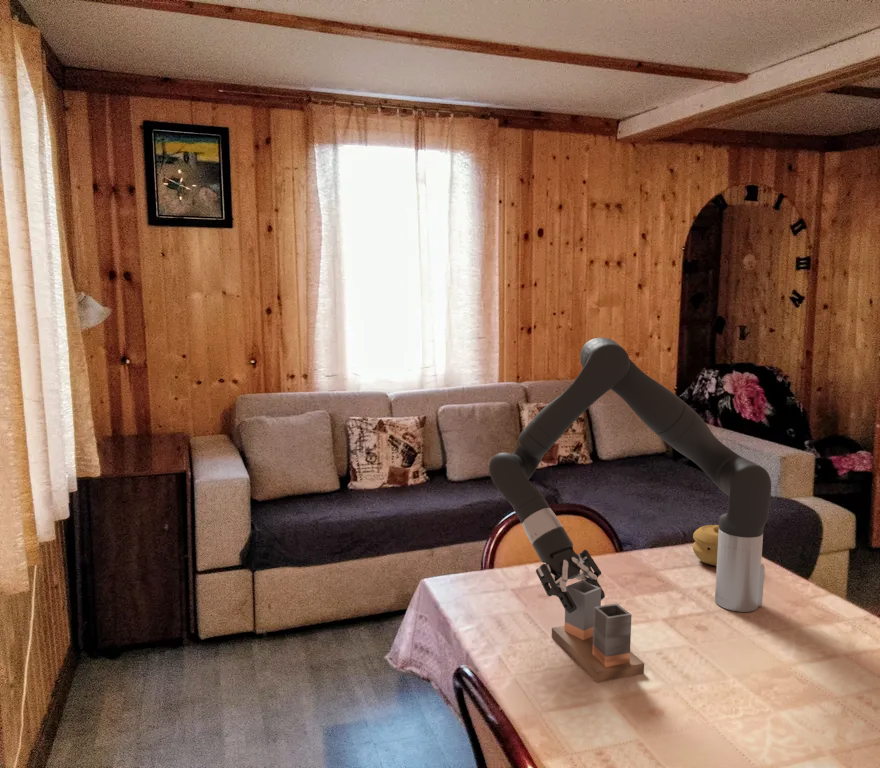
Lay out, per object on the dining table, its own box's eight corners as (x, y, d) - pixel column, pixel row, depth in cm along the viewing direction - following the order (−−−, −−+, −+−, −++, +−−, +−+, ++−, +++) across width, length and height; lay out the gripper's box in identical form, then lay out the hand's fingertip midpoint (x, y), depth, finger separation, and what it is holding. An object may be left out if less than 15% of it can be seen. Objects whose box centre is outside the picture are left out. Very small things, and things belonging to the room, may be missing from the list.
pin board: (594, 629, 153) (596, 577, 152) (643, 673, 136) (646, 615, 135) (551, 637, 150) (552, 583, 149) (596, 682, 133) (598, 622, 132)
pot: (719, 551, 198) (721, 516, 196) (750, 567, 186) (752, 530, 185) (682, 557, 194) (684, 520, 192) (711, 573, 183) (713, 535, 181)
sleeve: (564, 630, 149) (565, 586, 147) (580, 623, 152) (582, 580, 150) (583, 640, 145) (584, 594, 143) (599, 632, 148) (601, 588, 147)
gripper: (532, 533, 147) (574, 607, 140) (579, 519, 156) (621, 587, 148) (513, 551, 152) (553, 623, 144) (560, 536, 160) (600, 603, 153)
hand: (587, 605), depth 146 cm, fingers open, 8 cm apart
